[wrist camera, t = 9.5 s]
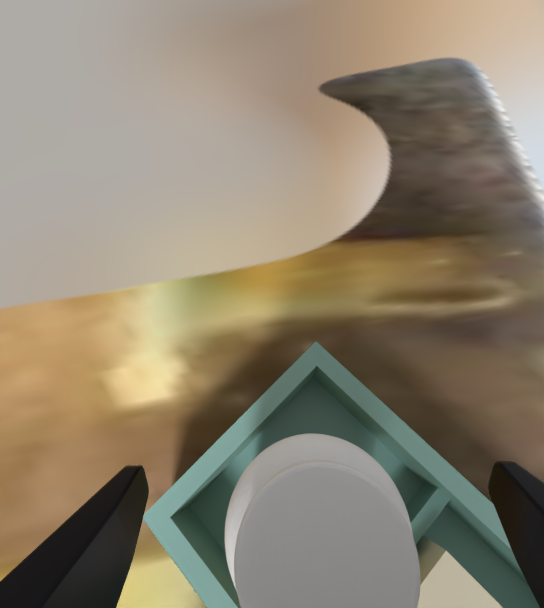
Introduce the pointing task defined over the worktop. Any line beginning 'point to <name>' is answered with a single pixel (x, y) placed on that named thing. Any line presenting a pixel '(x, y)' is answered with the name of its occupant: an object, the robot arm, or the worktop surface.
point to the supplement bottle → (320, 530)
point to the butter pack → (447, 581)
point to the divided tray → (364, 434)
